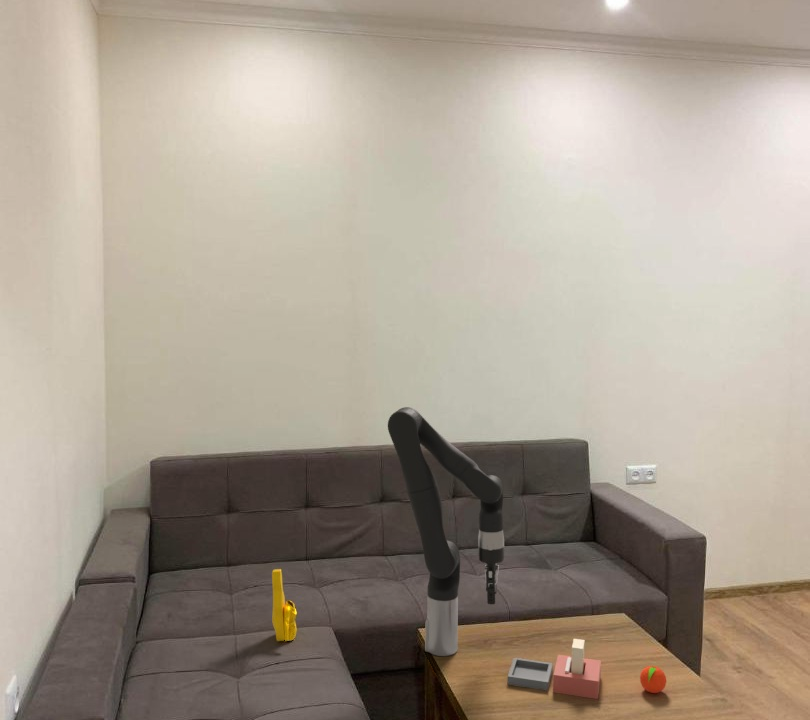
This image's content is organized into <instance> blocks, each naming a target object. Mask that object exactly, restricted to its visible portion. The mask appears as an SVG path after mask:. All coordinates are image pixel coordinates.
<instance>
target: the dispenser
mask: <svg viewBox="0 0 810 720" xmlns="http://www.w3.org/2000/svg"><path fill="white" fill-rule="evenodd" d="M601 663H602V660H599V659H593V658H591V659H590V658H585V657H584V675H583V674H576V673H571V664H572V655H571V656H570V655H562V654H557V658H556V663H555V666H554V669H553V670H554V671H553V674H552V675H553V677H552V678H553V680H552V693H558V694H561V695H562V694H564V695H570V696H576V697H583V698H590V699H596V700H598V699H599V693H600V685H601V676H602V675H601V671H602V670H601V669H602V665H601Z"/></svg>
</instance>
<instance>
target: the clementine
mask: <svg viewBox="0 0 810 720" xmlns="http://www.w3.org/2000/svg"><path fill="white" fill-rule="evenodd" d="M639 679H640V680H639V681H640V684H641V686H642V688H643V689H644V690H645V691H646V692H648V693H651V694H657V693H661V692H663V690H664V689H665V688H666V685H667V677H666V674H665V672H664V671H663V670H662V669H661V668H660V667H658V666H656V665H649V666H646V667H645V668H643V669H642V670H641V672H640V675H639Z"/></svg>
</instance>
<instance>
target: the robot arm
mask: <svg viewBox="0 0 810 720" xmlns="http://www.w3.org/2000/svg"><path fill="white" fill-rule="evenodd" d="M387 430H388V434H389V436H390V439H391V441H392V443H393V446H394V449H395V452H396V454H397V456H398V461H399V463H400V468H401V473H402V477H403V479H404V483H405V484H404V485H405V488H406V491H407V492H406V493H407V497H408V500H409V504H410V506H411V508H412V513H413V515H414V519H415V522H416V526H417V529H418V532H419V535H420V540H421V545H422V550H423V551H422V552H423V556H424V563H425V566H426V569H427V570H428V572H429V577H428V578H429V579H428V584H427V588H426V589H427V590H426V591H427V592H426V594H427V599H426V600H427V602H426V604H427V607H426V610H427V614H426V616H427V617H426V619H425V621H424V622H425V624H424V626H425V628H424V632H425V633H424V641H425V642H424V651H425V652H427V653H430V654H432V656H433V655H434V656H438V657H448V656H452V655H454V654H456V653H457V651H458V642H459V641H458V635H459V634H458V632H459V631H458V629H459V628H458V627H459V625H458V624H459V623H458V622H459V621H458V617H459V615H458V614H459V611H458V610H459V607H458V606H459V587H460V582H461V581H460V580H461V579H460V578H461V576H460V575H461V553H460V550H459V548H458V546H457V544H455V543H454V542H453V541H451V540H448V539H447V537H446V534H445V530H444V524H443V523H444V520H443V519H444V518H443V503H442V497H441V492H440V489H439V486H438V485H439V484H438V482H437V479H436V476H435V473H434V472H433V470H432V469H431V467H430V465H429V464H428V462H427V460H426V458H425V456H424V454H423V451H422V447H424V448H425V449H426V450H427V451H428V452H429V453H430V454H431V455H432V456H433V458H434V459H435V460H436V461H437V462H438V463H439V465H441V467H442V468H443V469H445V470H446V471H447V472H448V473H449V474H451V475H452V476H453V477H454V478H456V479H457V480H459V481H460V482H461V483H463V484H464V485H465V487H466V488H467V489H468V490H469V492H471V493H472V494H473V495H474V496H475V497H477V498H478V499H479V500H480V509H479V513H478V535H477V537H478V538H477V539H478V540H477V541H478V560H479V562H480V563H483V564H485V565H484V574H485V576H484V577H485V578H484V582H485V585H486V586H485V587H486V588H485V590H486V594H487V595H486V596H487V599H486V600H487V602H486V603H487V605H495V604H496V594H497V584H498V577H499V570H500V569H499V565H498V564H500V563H503V562H504V561H505V535H504V518H503V517H504V516H503V505H504V503H503V502H504V485H503V482H502V480H501V478H499V476H496V475H493V474H491V475H490V474H489V475H487V473H484V471H482V470H481V469H480V467H479V465H478V464H477V462H475V461H474V460H473V459H472V458H470V457H469V456H468V455H467V454H465V453H464V452H462V451H461V450H460V449H458V448H457V447H455V445H453V444H452V443H450V442H449V441H448V440H447V439H446V438H445V437H444V436H442V435H441V434H440V433H439V432H438V431H437V429H435V428H434V427H433V426H432V425H431V424H430V423H429V421H427V420H426V418H424V417H423V415H422V414H421V413H419V411H417V410H416V409H415V408H413V407H410V406H409V407H408V406H404V407H402V408H399V409H398V410H396V411H395V412H393V413H392V414H391V415H390V416H389V418H388V422H387ZM421 446H422V447H421Z"/></svg>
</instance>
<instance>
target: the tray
mask: <svg viewBox="0 0 810 720" xmlns="http://www.w3.org/2000/svg"><path fill="white" fill-rule="evenodd" d="M511 662H512V663H511V665H510V668H509V671H508V675H507V685H510V686H515V687H523V688H527V689H536V690H543V691H549V688H550V683H551V679H552V675H553V672H554V671H553V670H554V669H553V668H554V667H553V665H554V663H553V662H547V661H541V660H540V661H539V660H534V659H533V660H532V659H528V658H527V659H526V658H525V659H524V658H519V657H513V659H512V661H511Z"/></svg>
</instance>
